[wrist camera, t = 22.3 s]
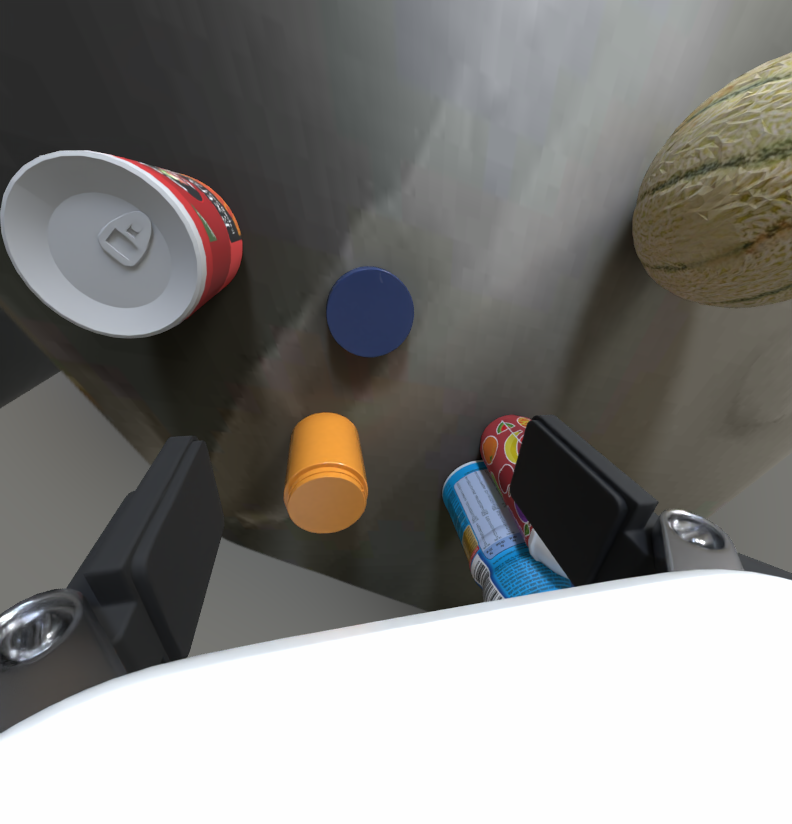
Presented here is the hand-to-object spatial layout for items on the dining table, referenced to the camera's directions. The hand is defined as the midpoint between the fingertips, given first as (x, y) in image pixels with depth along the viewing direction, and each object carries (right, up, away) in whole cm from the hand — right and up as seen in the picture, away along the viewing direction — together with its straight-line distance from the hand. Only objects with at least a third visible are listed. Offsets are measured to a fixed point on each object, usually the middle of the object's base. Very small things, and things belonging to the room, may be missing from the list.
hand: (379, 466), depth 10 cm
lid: (-2, +10, +19) cm, 21 cm away
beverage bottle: (+10, -7, +32) cm, 34 cm away
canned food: (-14, +14, +15) cm, 25 cm away
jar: (-7, -1, +25) cm, 26 cm away
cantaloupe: (+24, +20, +20) cm, 37 cm away
